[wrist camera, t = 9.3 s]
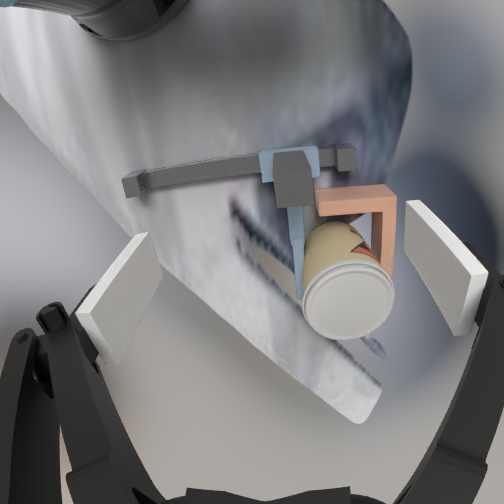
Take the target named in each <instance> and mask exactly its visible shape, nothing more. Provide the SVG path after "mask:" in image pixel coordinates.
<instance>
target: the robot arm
mask: <svg viewBox="0 0 504 504" xmlns="http://www.w3.org/2000/svg"><path fill="white" fill-rule="evenodd" d="M187 1H188V0H0V7H9V6H14V7H23V8H30V9H38V10H44V11H50V12H55V13H60V14H65V15H70V16H71V17H72V18H73V19H74V20H75V21H76V22H77V23H78V24H79V25H80V26H81V27H82V28H83V29H84V30H85V31H86V32H88V33H90V34H92V35H94V36H96V37H99V38H103V39H108V40H113V41H127V40H133V39H137V38H141V37H143V36H146V35H148V34H150V33H153V32H154V31H156V30H158V29H160V28H161V27H163V26H164V25H165V24H167V23H168V22H169V21H170V20H172V19H173V18H174V17H175V16H176V15H177V14H178V13H179V12H180V10H181V9H182V8H183V7H184V5H185V4H186V2H187ZM404 251H405V253H406V254H407V256H408V257H409V259H410V261H411V262H412V264H413V265H414V267H415V269H416V270H417V272H418V273H419V275H420V277H421V278H422V280H423V282H424V283H425V285H426V287H427V288H428V290H429V292H430V293H431V295H432V297H433V298H434V300H435V301H436V304H437V305H438V307H439V309H440V310H441V312H442V314H443V316H444V318H445V319H446V321H447V323H448V325H449V327H450V329H451V330H452V333H453V335H454V336H460V335H464V334H468V333H470V332H471V330H472V327H473V324H474V321H475V322H476V323H477V325H478V327H479V329H478V332H477V335H476V338H475V340H474V343H473V345H472V350H471V353H470V356H469V359H468V362H467V364H466V367H465V370H464V372H463V375H462V377H461V380H460V382H459V385H458V387H457V390H456V392H455V395H454V397H453V399H452V401H451V404H450V406H449V408H448V410H447V413H446V415H445V417H444V419H443V421H442V423H441V425H440V427H439V429H438V431H437V433H436V435H435V437H434V439H433V441H432V442H431V444H430V446H429V448H428V450H427V452H426V453H425V455H424V457H423V459H422V460H421V462H420V464H419V465H418V467H417V469H416V471H415V472H414V474H413V475H412V477H411V478H410V480H409V482H408V483H407V485H406V486H405V487H404V489H403V490H402V492H401V493H400V494H399V496H398V497H397V499H396V500H395V502H394V503H393V504H472V503H473V501H474V499H475V497H476V495H477V493H478V491H479V489H480V486H481V484H482V482H483V480H484V477H485V474H486V472H487V467H488V465H487V464H486V462H485V461H486V457H487V454H488V452H489V449H490V446H491V443H492V441H493V438H494V435H495V433H496V429H497V426H498V424H499V420H500V417H501V414H502V411H503V407H504V275H500V273H499V272H498V271H497V270H496V269H495V267H494V266H493V265H492V264H491V263H490V262H489V261H488V260H486V257H485V256H484V255H482V253H481V252H480V251H479V250H478V249H477V248H476V247H475V246H473V245H471V244H470V243H468V242H461V241H460V240H459V239H458V238H457V237H456V236H455V235H454V234H453V233H452V232H451V231H450V229H449V228H447V226H446V225H445V224H444V223H443V222H442V221H441V220H440V219H439V218H438V217H437V216H436V215H435V214H434V213H433V212H431V211H430V210H429V209H428V208H427V207H426V206H425V205H424V204H423V203H422V202H421V201H420V200H413V201H406V215H405V237H404ZM163 277H164V275H163V272H162V269H161V266H160V263H159V261H158V258H157V255H156V252H155V249H154V246H153V243H152V240H151V237H150V234H149V232H145V233H139V234H136V235H135V236H134V237H133V239H132V240H131V241H130V242H129V244H128V245H127V246H126V247H125V248H124V250H123V251H122V252H121V253H120V255H119V256H118V257H117V258H116V260H115V261H114V262H113V263H112V265H111V266H110V267H109V269H108V270H107V271H106V272H105V274H104V275H103V276H102V277H101V279H100V280H99V282H98V283H96V284H95V285H94V286H93V287H92V288H90V289H89V290H88V292H87V293H86V295H85V297H83V299H82V300H81V302H80V303H79V304H78V305H77V307H76V308H75V309H74V311H73V312H72V313H71V315H70V317H69V316H68V314H67V312H66V311H65V309H64V307H63V305H62V304H61V303H60V302H53V303H51V304H48V305H47V306H45V307H43V308H42V309H41V310H40V311H39V313H38V314H37V316H36V319H37V321H38V323H39V325H40V326H41V328H42V329H43V331H44V333H45V335H40V336H36V334H35V333H34V331H33V330H32V329H31V328H26V329H23V330H20V331H19V332H17V333H16V335H15V336H14V337H13V339H12V341H11V344H10V347H9V350H8V353H7V356H6V360H5V363H4V367H3V370H2V373H1V377H0V504H62V494H61V481H60V480H61V479H60V455H59V454H60V451H59V450H60V449H59V435H60V431H59V430H60V425H61V430H62V434H63V438H64V442H65V445H66V449H67V453H68V456H69V460H70V463H71V466H72V471H71V472H69V473H67V474H66V482H67V485H68V488H69V491H70V494H71V497H72V500H73V503H74V504H385V503H384V502H381V501H379V500H377V499H374V498H371V497H368V496H362V495H356V494H351V493H350V487H342V488H334V489H324V490H312V491H307V492H303V493H299V494H296V495H292V496H288V497H284V498H280V499H276V500H272V501H265V502H264V501H259V500H255V499H251V498H247V497H243V496H239V495H236V494H232V493H228V492H225V491H214V490H202V489H193V488H187V490H186V495H185V496H181V497H177V498H173V499H170V500H166V499H165V498H164V497H163V496H162V495H161V494H160V492H159V491H158V490H157V489H156V487H155V486H154V484H153V482H152V480H151V479H150V477H149V475H148V473H147V471H146V470H145V468H144V466H143V464H142V462H141V460H140V458H139V456H138V454H137V453H136V451H135V449H134V447H133V444H132V443H131V441H130V438H129V436H128V434H127V432H126V430H125V428H124V426H123V423H122V421H121V419H120V417H119V415H118V412H117V410H116V408H115V405H114V403H113V401H112V398H111V396H110V393H109V391H108V388H107V386H106V383H105V381H104V378H103V375H102V373H101V370H100V367H99V365H98V364H97V362H96V361H95V360H96V358H97V356H98V354H99V355H100V357H101V358H102V360H103V361H104V363H105V364H118V365H119V364H120V363H121V360H122V358H123V356H124V354H125V352H126V350H127V348H128V346H129V344H130V341H131V339H132V337H133V335H134V333H135V331H136V329H137V327H138V325H139V323H140V321H141V319H142V317H143V315H144V313H145V311H146V309H147V307H148V306H149V304H150V302H151V300H152V298H153V296H154V294H155V292H156V290H157V288H158V286H159V284H160V282H161V281H162V279H163ZM34 377H35V379H34Z"/></svg>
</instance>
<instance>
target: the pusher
mask: <svg viewBox="0 0 504 504" xmlns="http://www.w3.org/2000/svg"><path fill="white" fill-rule="evenodd" d="M259 161H260V168H261V175H262V182H263V183H264V182H273V181H274V188H275V197H276V205H277V208H286V207H287V214H288V223H289V233H290V243H291V245H292V246H293V257H294V268H295V280H296V292H297V299H300V298H303V263H304V246H303V244H305V239H304V226H303V214H302V206H308V205H314V192H313V180H312V178H316V177H320V165H319V154H318V148H317V147H316V146H305V147H293V148H283V149H274V150H265V151H260V152H259Z"/></svg>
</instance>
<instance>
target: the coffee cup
mask: <svg viewBox="0 0 504 504" xmlns="http://www.w3.org/2000/svg"><path fill="white" fill-rule="evenodd" d="M394 297H395V293H394V286H393V283H392V280H391V278H390V277H389V275H388V274H387V272H386V271H385V270H384V269H383V268H382V266H381V265H380V263H379V261H378V260H377V258H376V257H375V255H374V254H373V252H372V251H371V249H370V248H369V246H368V245H367V244H366V242H365V241H364V239H363V238H362V236H361V235H360V234H359V233H358V231H357V230H356V229H355V228H354V227H352V226H351V225H349V224H347V223H344V222H339V221H331V222H326V223H324V224H321V225H319V226H318V227H316V228H315V229H314V230H313V231H312V232H311V233H310V234H309V235H308V237H307V239H306V241H305V244H304V263H303V298H302V311H303V315H304V317H305V319H306V321H307V323H308V324H309V325H310V326H311V327H312V328H313V329H314V330H315V331H316V332H317V333H318V334H320V335H322V336H324V337H326V338H329V339H333V340H353V339H357V338H360V337H363V336H366V335H368V334H370V333H371V332H373V331H374V330H376V329H377V328H378V327H379V326H381V325H382V324H383V323H384V321H385V320H386V319H387V318H388V316H389V314H390V312H391V310H392V307H393V302H394Z"/></svg>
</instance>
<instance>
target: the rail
mask: <svg viewBox="0 0 504 504" xmlns="http://www.w3.org/2000/svg"><path fill="white" fill-rule="evenodd" d="M317 148H318V154H319V165H320V167H325V166H335V167H336V169H337V170H338V171H353V170H357V164H356V148H355V147H353V146H352V145H351V144H334V145H332V146H330V147H317ZM253 173H261V168H260V161H259V153H255V154H247V155H239V156H232V157H225V158H218V159H211V160H205V161H199V162H193V163H187V164H181V165H175V166H170V167H164V168H159V169H154V170H149V171H146V170H141V171H136V172H132V173H130V174H129V175H127V176H126V177H124V178H123V179H122V183H123V187H124V191H125V195H126V198H131V197H137V196H141V195H143V194H144V193H145V192H146V191H147V190H148V189H151V188H157V187H162V186H168V185H174V184H181V183H187V182H193V181H200V180H207V179H214V178H221V177H229V176H236V175H244V174H253Z"/></svg>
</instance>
